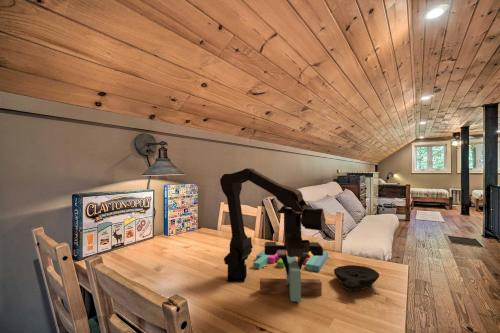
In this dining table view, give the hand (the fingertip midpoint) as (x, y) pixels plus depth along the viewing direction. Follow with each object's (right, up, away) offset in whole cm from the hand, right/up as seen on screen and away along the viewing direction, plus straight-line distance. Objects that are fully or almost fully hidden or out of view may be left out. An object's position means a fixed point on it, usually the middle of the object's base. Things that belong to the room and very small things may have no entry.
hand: (292, 274), depth 80 cm
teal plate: (0, -5, 0) cm, 5 cm away
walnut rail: (-1, -6, 0) cm, 6 cm away
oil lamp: (+22, -6, +4) cm, 23 cm away
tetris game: (+4, -7, +28) cm, 29 cm away
